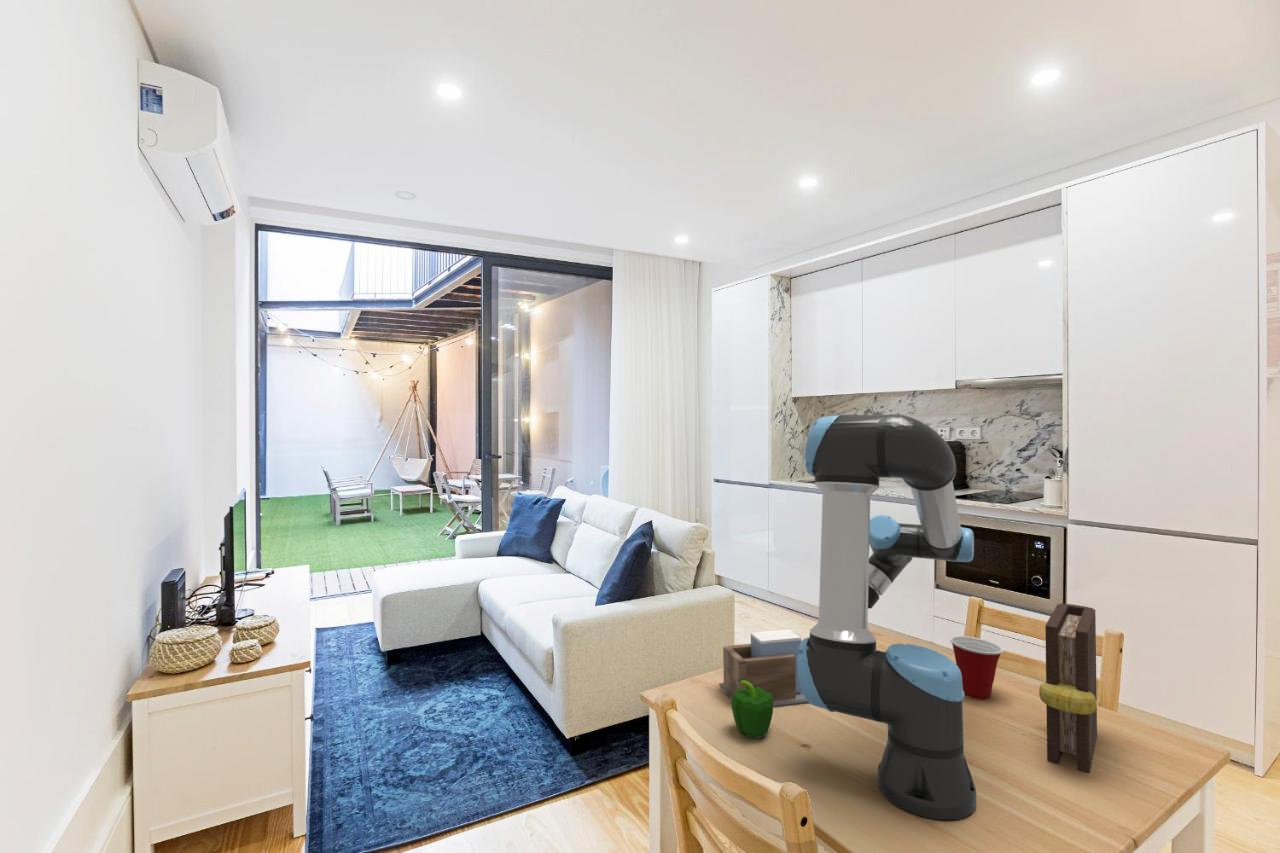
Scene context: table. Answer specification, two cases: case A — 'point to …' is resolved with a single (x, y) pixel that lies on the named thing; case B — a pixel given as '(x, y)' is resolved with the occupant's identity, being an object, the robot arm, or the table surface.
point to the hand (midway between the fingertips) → (805, 661)
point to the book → (1071, 684)
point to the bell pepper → (752, 710)
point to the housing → (761, 674)
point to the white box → (776, 646)
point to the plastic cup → (976, 664)
